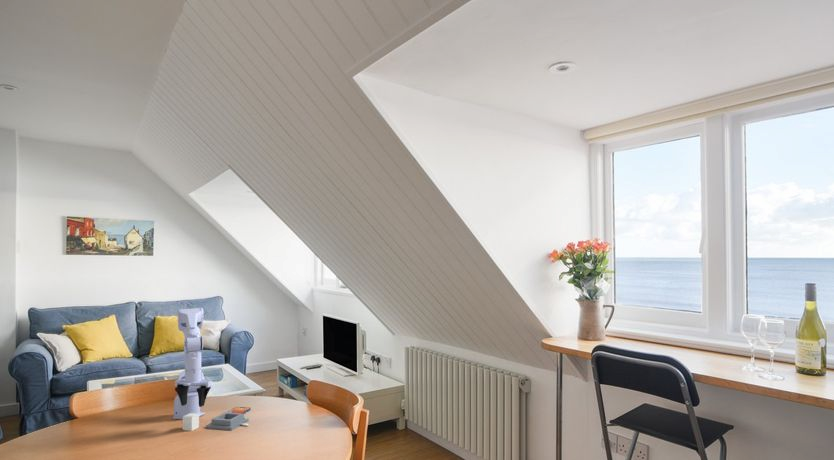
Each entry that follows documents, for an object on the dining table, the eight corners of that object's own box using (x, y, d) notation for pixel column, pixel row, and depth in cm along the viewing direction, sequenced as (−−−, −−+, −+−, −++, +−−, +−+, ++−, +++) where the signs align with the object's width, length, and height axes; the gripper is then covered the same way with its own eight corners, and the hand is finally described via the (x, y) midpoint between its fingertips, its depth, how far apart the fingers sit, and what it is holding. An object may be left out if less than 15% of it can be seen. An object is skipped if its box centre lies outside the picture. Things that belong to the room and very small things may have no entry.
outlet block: (206, 428, 186) (206, 420, 186) (224, 418, 197) (224, 411, 197) (239, 431, 183) (239, 422, 183) (256, 421, 193) (256, 413, 193)
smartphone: (214, 421, 195) (214, 419, 195) (235, 409, 210) (235, 406, 210) (231, 422, 194) (231, 420, 194) (251, 410, 209) (251, 407, 209)
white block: (182, 430, 185) (182, 416, 185) (190, 426, 189) (190, 413, 189) (191, 430, 184) (191, 417, 184) (199, 427, 188) (199, 413, 188)
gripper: (169, 370, 185) (168, 407, 184) (203, 372, 182) (202, 409, 181) (182, 366, 192) (181, 402, 191) (214, 368, 189) (214, 404, 188)
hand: (192, 405), depth 187 cm, fingers open, 7 cm apart
